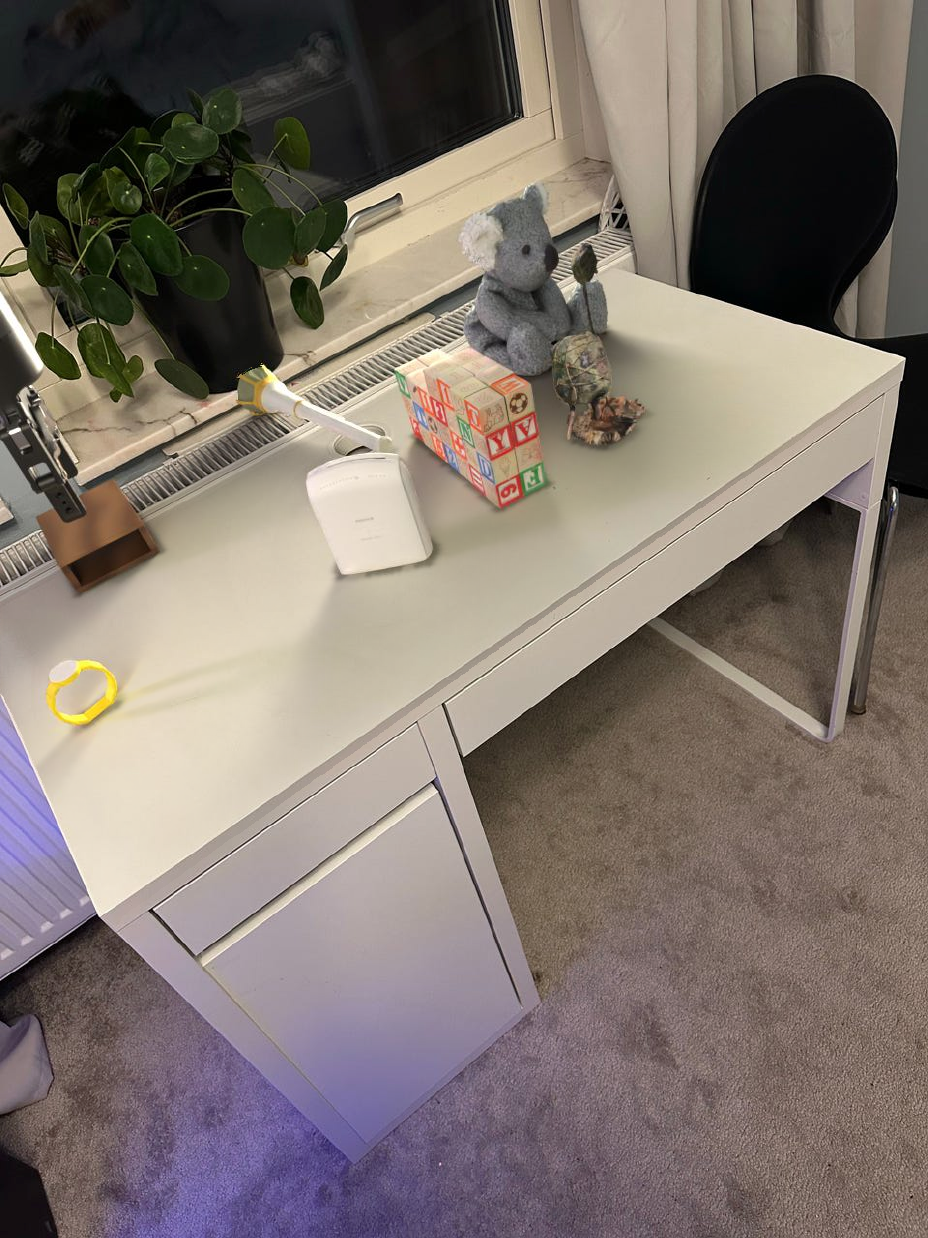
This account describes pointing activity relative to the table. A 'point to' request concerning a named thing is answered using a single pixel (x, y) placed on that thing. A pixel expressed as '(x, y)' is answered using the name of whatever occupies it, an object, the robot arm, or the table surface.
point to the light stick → (299, 408)
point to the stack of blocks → (476, 420)
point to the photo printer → (369, 512)
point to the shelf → (110, 560)
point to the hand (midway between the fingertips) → (72, 496)
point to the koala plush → (522, 286)
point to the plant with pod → (590, 374)
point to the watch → (65, 676)
